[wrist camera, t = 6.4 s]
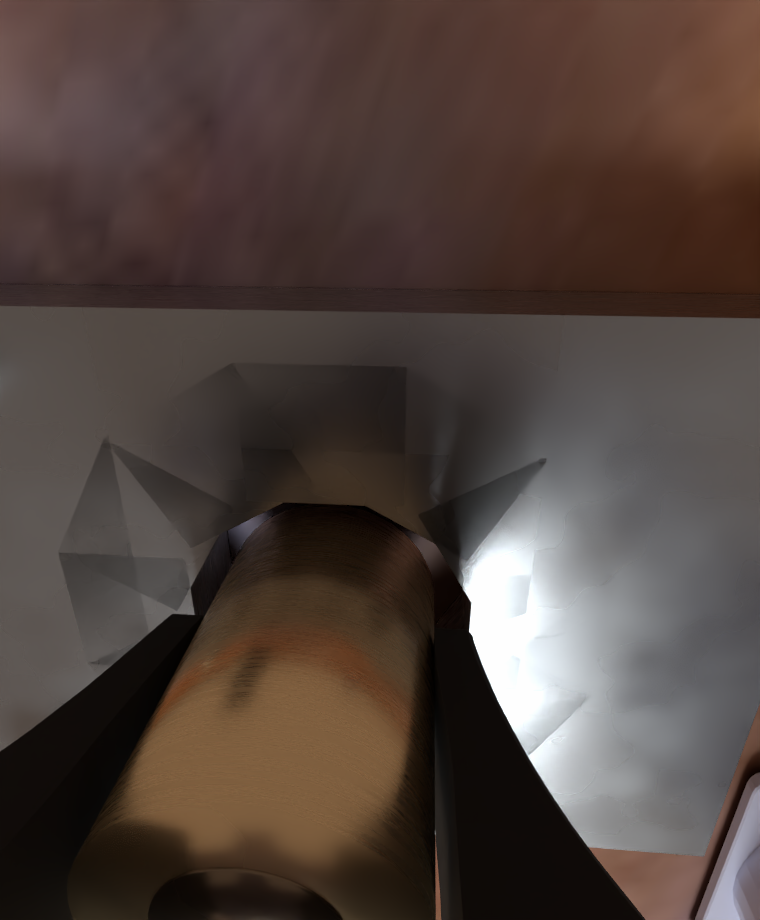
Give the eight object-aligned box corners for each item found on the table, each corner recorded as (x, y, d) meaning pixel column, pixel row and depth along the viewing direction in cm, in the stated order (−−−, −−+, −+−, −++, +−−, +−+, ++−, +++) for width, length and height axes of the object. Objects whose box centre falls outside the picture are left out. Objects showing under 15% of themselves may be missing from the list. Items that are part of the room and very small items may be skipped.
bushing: (448, 518, 12) (464, 845, 6) (420, 681, 14) (411, 1054, 8) (232, 490, 12) (40, 783, 6) (233, 656, 14) (86, 1003, 8)
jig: (809, 294, 11) (988, 346, 8) (668, 769, 17) (733, 930, 13) (-84, 282, 13) (-294, 321, 9) (55, 725, 18) (-40, 861, 14)
